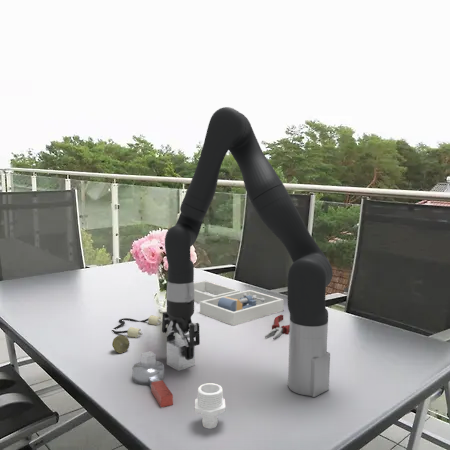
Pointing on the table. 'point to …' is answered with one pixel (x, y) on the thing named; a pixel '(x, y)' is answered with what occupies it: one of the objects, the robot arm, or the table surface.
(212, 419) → the pipe fitting
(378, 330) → the table surface
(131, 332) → the cable
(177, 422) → the table surface
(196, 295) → the grey tray
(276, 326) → the pliers
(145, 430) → the table surface
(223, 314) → the white tray
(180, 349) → the pale grey cube
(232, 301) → the vise
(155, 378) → the ratchet
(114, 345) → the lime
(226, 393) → the table surface
